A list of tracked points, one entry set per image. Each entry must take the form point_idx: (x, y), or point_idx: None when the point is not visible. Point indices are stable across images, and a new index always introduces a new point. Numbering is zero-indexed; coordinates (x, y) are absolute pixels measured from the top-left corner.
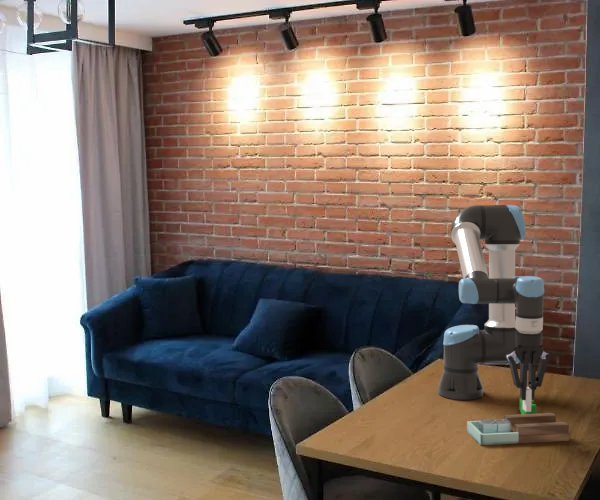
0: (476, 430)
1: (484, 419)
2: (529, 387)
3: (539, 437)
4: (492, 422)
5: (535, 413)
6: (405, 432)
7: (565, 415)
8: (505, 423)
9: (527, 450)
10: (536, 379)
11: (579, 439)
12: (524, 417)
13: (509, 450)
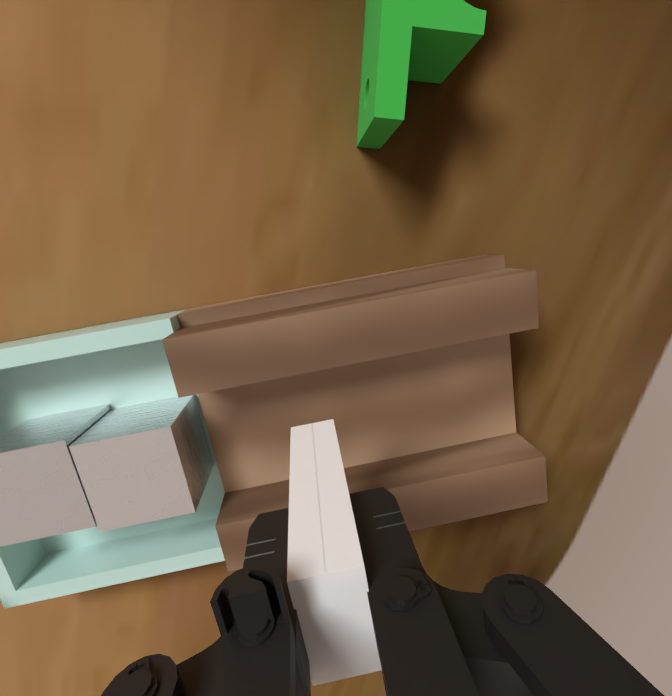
0: None
1: (2, 454)
2: (372, 622)
3: None
4: (62, 510)
5: (451, 66)
6: None
7: (654, 8)
8: (154, 519)
9: None
10: (553, 693)
11: (555, 441)
12: (311, 371)
13: (185, 605)
